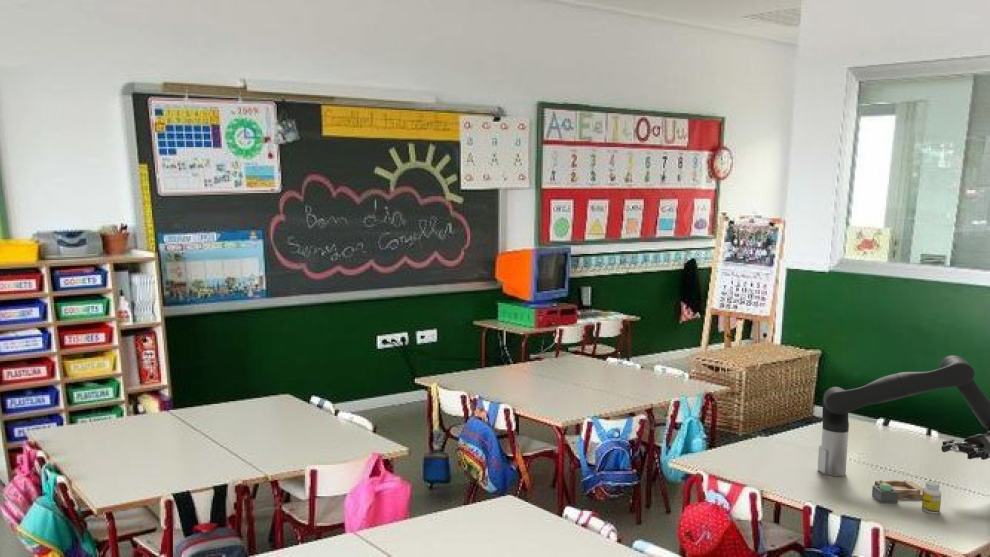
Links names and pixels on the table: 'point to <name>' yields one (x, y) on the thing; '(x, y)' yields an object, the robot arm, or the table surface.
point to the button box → (885, 495)
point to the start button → (885, 487)
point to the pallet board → (904, 488)
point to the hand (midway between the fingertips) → (955, 452)
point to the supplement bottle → (931, 498)
